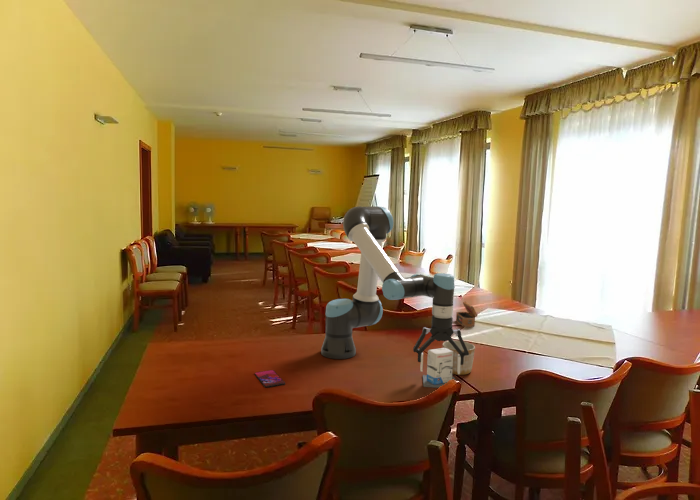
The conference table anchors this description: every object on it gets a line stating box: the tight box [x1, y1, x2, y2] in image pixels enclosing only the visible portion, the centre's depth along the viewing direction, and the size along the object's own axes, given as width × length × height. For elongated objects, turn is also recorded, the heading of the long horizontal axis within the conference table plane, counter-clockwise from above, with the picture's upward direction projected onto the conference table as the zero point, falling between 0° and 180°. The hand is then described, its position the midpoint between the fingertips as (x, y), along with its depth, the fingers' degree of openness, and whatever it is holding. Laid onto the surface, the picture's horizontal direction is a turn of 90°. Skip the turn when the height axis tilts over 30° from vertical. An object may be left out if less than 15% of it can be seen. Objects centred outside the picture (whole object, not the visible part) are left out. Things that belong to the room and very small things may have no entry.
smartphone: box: [254, 369, 286, 389], centre depth 173 cm, size 8×1×15 cm
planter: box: [442, 340, 476, 376], centre depth 185 cm, size 13×13×10 cm
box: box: [455, 301, 478, 328], centre depth 256 cm, size 28×28×12 cm
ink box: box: [426, 347, 453, 385], centre depth 172 cm, size 9×5×12 cm, turn 118°
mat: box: [422, 374, 456, 389], centre depth 173 cm, size 12×10×1 cm
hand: (439, 371), depth 173 cm, fingers open, 13 cm apart
